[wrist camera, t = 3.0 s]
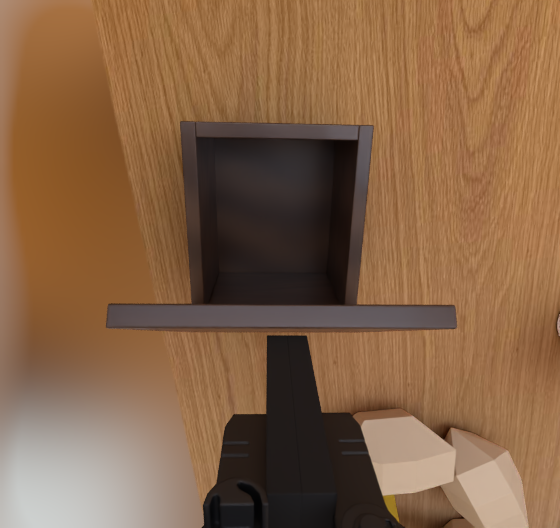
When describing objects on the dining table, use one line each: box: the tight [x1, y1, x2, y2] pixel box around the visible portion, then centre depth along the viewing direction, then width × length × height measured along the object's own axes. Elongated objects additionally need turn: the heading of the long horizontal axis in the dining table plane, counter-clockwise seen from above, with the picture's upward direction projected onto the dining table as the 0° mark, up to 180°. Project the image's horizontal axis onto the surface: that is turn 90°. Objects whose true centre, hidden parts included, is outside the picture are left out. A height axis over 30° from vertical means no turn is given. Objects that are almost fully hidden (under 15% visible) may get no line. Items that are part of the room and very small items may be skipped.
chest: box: [180, 121, 374, 305], centre depth 32 cm, size 15×13×10 cm
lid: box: [106, 304, 457, 332], centre depth 21 cm, size 16×13×1 cm
